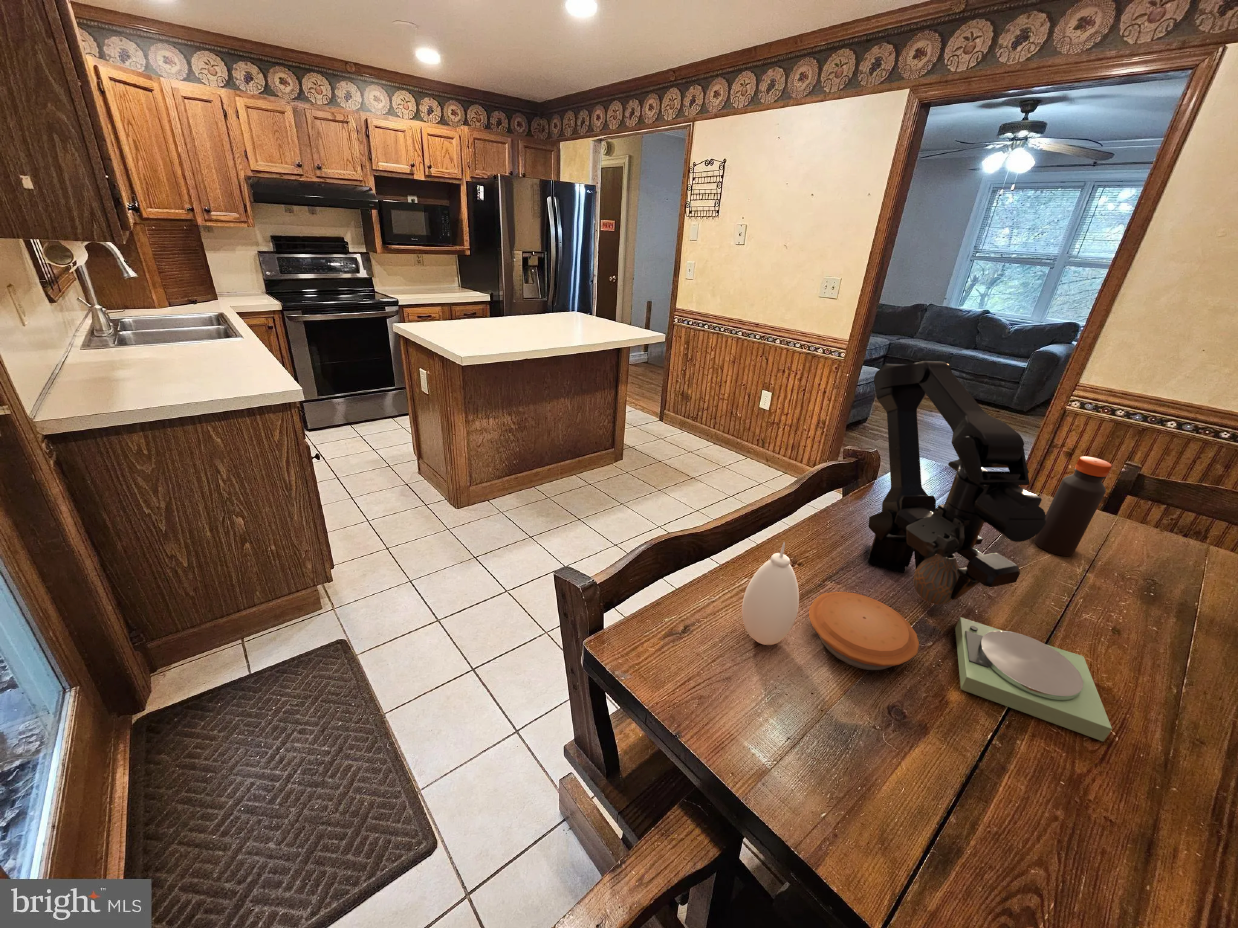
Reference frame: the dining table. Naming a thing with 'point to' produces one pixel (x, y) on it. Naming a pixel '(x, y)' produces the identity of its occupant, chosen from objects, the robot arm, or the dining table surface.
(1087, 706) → the scale
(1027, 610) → the dining table surface
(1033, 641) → the scale pan
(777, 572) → the sauce bottle
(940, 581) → the vase
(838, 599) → the pie
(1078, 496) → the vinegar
